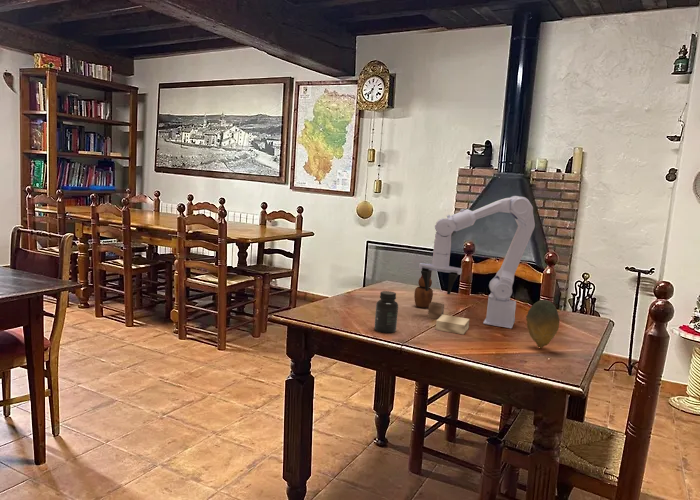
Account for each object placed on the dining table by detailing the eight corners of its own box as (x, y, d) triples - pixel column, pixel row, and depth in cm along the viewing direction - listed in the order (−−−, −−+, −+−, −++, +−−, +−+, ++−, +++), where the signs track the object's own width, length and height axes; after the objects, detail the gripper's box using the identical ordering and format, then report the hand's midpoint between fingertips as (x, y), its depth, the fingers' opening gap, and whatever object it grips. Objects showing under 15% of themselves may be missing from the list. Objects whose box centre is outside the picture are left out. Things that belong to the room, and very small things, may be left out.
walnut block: (443, 317, 185) (444, 303, 184) (440, 320, 181) (441, 306, 180) (430, 315, 187) (432, 301, 186) (427, 318, 183) (429, 304, 182)
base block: (468, 327, 174) (469, 318, 174) (463, 334, 166) (464, 325, 165) (441, 323, 177) (442, 314, 177) (435, 329, 169) (436, 320, 169)
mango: (558, 351, 156) (565, 301, 154) (550, 355, 152) (557, 304, 149) (527, 342, 162) (533, 294, 160) (518, 346, 158) (524, 297, 156)
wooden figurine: (430, 306, 200) (435, 267, 198) (431, 309, 195) (436, 269, 193) (413, 304, 201) (417, 265, 199) (413, 307, 195) (418, 267, 193)
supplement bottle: (370, 327, 166) (373, 290, 165) (390, 326, 169) (393, 290, 167) (379, 334, 160) (382, 295, 158) (399, 333, 163) (403, 295, 161)
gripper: (465, 254, 181) (461, 293, 183) (424, 249, 187) (420, 287, 189) (461, 257, 175) (456, 296, 177) (418, 251, 180) (415, 290, 182)
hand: (437, 292), depth 182 cm, fingers open, 7 cm apart
